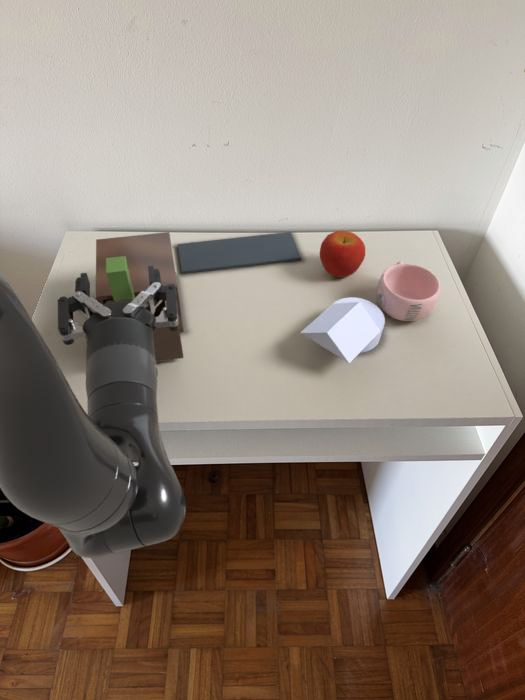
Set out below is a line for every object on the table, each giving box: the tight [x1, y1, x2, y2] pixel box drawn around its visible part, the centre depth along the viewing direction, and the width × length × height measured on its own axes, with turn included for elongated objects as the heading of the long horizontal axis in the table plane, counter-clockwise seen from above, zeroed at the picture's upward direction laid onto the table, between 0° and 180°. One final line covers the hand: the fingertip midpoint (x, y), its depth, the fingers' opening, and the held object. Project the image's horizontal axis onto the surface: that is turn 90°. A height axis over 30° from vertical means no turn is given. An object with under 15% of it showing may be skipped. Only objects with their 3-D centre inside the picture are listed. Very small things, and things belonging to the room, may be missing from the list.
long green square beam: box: [106, 256, 135, 301], centre depth 70 cm, size 2×3×15 cm
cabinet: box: [95, 231, 184, 333], centre depth 79 cm, size 14×12×10 cm
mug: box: [376, 260, 442, 322], centre depth 83 cm, size 12×10×6 cm
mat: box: [177, 231, 302, 275], centre depth 93 cm, size 22×8×1 cm, turn 102°
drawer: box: [107, 296, 184, 363], centre depth 75 cm, size 14×10×8 cm
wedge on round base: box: [300, 296, 386, 364], centre depth 77 cm, size 9×7×13 cm
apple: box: [319, 230, 366, 278], centre depth 87 cm, size 8×8×8 cm
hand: (118, 274), depth 66 cm, fingers open, 8 cm apart
